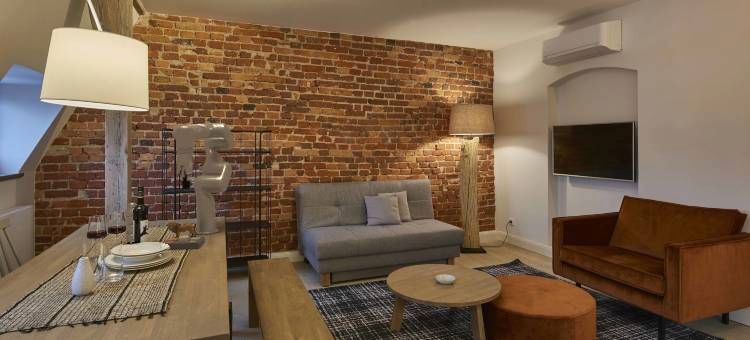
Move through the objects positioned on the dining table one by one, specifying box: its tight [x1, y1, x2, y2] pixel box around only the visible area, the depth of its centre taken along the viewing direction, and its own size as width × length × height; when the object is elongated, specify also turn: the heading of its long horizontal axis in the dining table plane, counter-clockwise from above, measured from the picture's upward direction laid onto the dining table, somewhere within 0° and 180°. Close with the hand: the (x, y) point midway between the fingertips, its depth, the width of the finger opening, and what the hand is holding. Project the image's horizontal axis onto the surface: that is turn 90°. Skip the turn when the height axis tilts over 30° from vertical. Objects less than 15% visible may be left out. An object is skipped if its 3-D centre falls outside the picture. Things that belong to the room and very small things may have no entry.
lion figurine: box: [167, 221, 200, 238], centre depth 221 cm, size 15×5×9 cm, turn 122°
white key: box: [179, 235, 191, 241], centre depth 203 cm, size 4×4×2 cm
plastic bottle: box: [124, 202, 137, 243], centre depth 208 cm, size 6×7×20 cm
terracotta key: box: [166, 237, 179, 241], centre depth 202 cm, size 4×4×2 cm
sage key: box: [190, 236, 202, 241], centre depth 204 cm, size 4×4×2 cm
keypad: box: [162, 236, 206, 251], centre depth 202 cm, size 12×16×3 cm
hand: (186, 188), depth 207 cm, fingers closed
